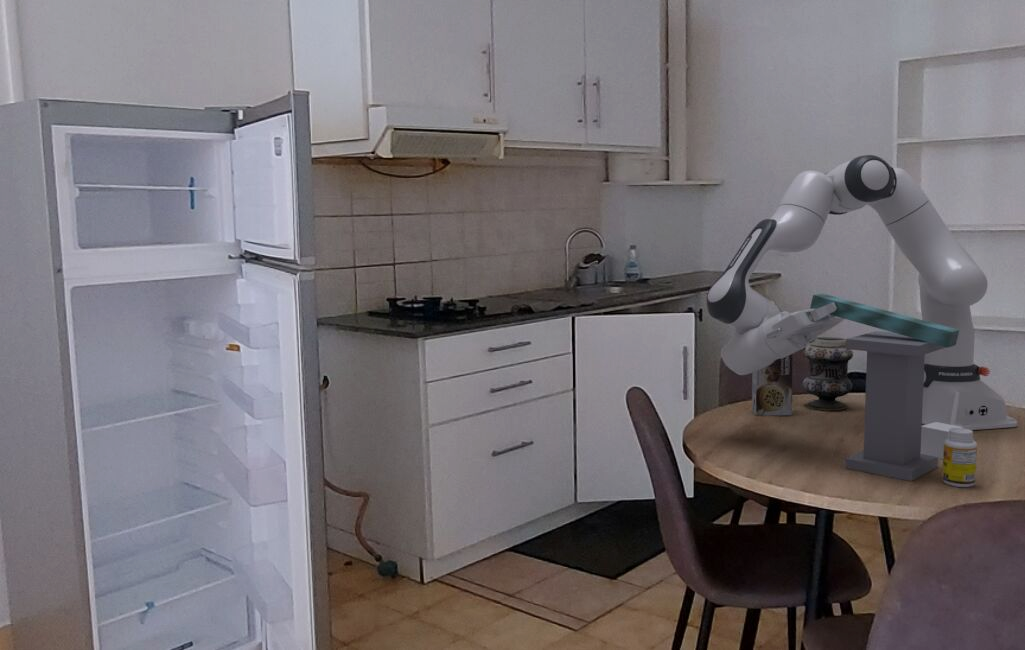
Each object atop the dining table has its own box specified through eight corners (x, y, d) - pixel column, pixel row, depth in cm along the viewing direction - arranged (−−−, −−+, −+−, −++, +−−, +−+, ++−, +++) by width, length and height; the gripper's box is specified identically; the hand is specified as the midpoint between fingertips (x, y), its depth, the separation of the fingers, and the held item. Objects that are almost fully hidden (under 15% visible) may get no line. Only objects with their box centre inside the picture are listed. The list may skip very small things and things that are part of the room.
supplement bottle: (944, 477, 176) (946, 425, 174) (976, 481, 173) (979, 428, 171) (940, 485, 171) (942, 431, 169) (973, 489, 168) (976, 435, 167)
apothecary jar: (859, 406, 237) (862, 337, 235) (838, 414, 229) (840, 342, 226) (815, 399, 246) (817, 333, 243) (793, 407, 237) (795, 338, 235)
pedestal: (841, 468, 183) (845, 338, 179) (871, 454, 192) (876, 331, 189) (913, 482, 173) (918, 345, 169) (941, 466, 183) (947, 337, 179)
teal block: (810, 309, 189) (812, 294, 188) (819, 307, 192) (822, 293, 191) (947, 347, 171) (951, 332, 170) (955, 345, 174) (959, 330, 173)
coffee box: (787, 410, 234) (788, 347, 232) (792, 416, 228) (794, 351, 225) (750, 410, 235) (752, 347, 233) (754, 415, 228) (756, 351, 226)
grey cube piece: (946, 460, 187) (947, 431, 187) (919, 454, 192) (920, 426, 192) (962, 455, 191) (963, 427, 190) (934, 449, 196) (936, 421, 195)
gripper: (755, 324, 189) (811, 294, 180) (803, 315, 203) (857, 286, 194) (768, 352, 188) (825, 323, 178) (816, 340, 202) (870, 313, 193)
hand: (842, 304), depth 186 cm, fingers closed on teal block, 4 cm apart
